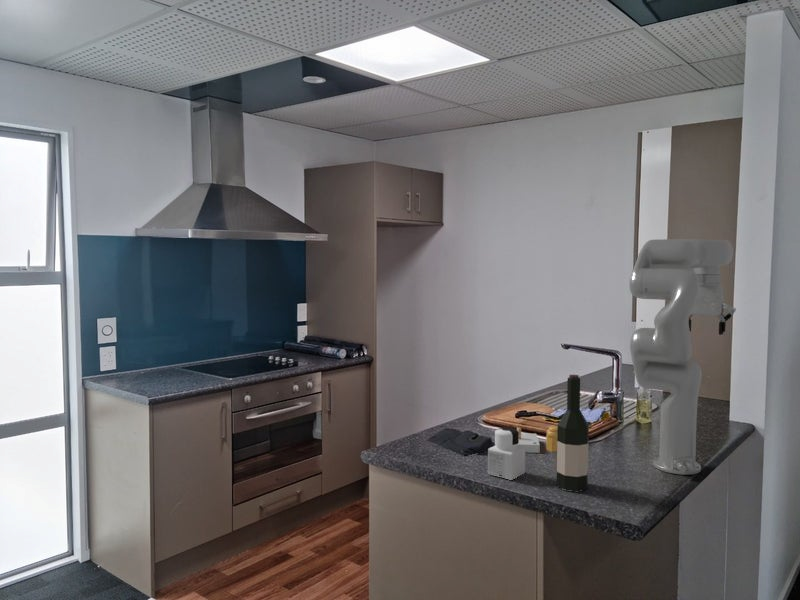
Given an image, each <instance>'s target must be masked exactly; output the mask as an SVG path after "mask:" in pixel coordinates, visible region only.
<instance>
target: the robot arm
mask: <svg viewBox="0 0 800 600" xmlns="http://www.w3.org/2000/svg"><path fill="white" fill-rule="evenodd" d="M733 257H734V247H733V245H732V243H731V242H730V241H729V240H727V239H723V240H722V239H705V238H704V239H703V238H677V239H676V238H674V239H669V238H667V239H649V240H648V241H646V242H645V243H644V244H643V246H642V248H641V249H640V251H639V253H638V255H637V259H636V260H635V264H634V267H633V269H632V272H631V274H630V277H629V291H630V293H631V294H632V296H634V297H635V298H636V299H642V300H659V301H660V300H663V301H669V302H668V303H667V304H666V305H665V306H663V307H662V308H661V309H660V310H659V311H658V312H657V314H656V315H655V316H654V318H653V325H654V327H639V328H637V329H636V330H635V331H634V332H633V333H632V335H631V338H630V341H629V342H630V343H629V344H630V346H629V349H630V356H631V361H632V365H633V370H634V375H635V379H636V382H637V384H638V385H639V386H640V387H641V388H644V389H648V390H656V391H665V392H669V393H670V395H669V396H667V397H666V398H665V399H664V400H663V402H662V403H661V405H660V413H659V414H660V419H659V451H658V452H659V453H658V454H659V455H658V457H656V458H654V459H653V466H654V467H655V468H656V469H658V470H659V471H662V472H665V473H669V474H675V475H686V476H688V475H689V476H690V475H696V474H698V473H700V472H701V471H702V465H701V464H700V463H698V462H697V461H696V450H697V449H696V448H697V446H696V444H697V416H698V401H699V392H700V388H701V383H702V379H703V378H702V377H703V375H702V374H703V372H702V368H701V366H700V365H699V364H698V363H697V362H695V361H693V360H690V359H691V357H692V353H693V346H692V338H691V337H692V336H691V332H692V319H691V318H692V317H693V316H705V317H709V316H710V317H717V318H718V319H719V323H718V335H724V333H726V325H727V323H726V322H727V321H728V320H729V319H731V318H732V317H733V315H734V314H735V312H736V310H737V309H736V308H735V307H734V306H732V305H730V304H728V303H726V302H724V291H723V285H722V284H720V280H721V279H720V277H721V276H720V275H721V266H722V267H723V266H728V265H729V264H730V263H731V261H732V260H733ZM690 269H693V271H692V270H690ZM724 309H726V310H728V313H727V314H726V315H724Z"/></svg>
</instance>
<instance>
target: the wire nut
mask: <svg viewBox="0 0 800 600" xmlns="http://www.w3.org/2000/svg"><path fill="white" fill-rule="evenodd" d="M557 431H558V425H550V426H549V427H548V429H546V435H545V437H546V439H545V443H546V445H545V448H546V450H547V451H548V452H551V453H557Z"/></svg>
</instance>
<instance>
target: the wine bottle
mask: <svg viewBox="0 0 800 600" xmlns="http://www.w3.org/2000/svg"><path fill="white" fill-rule="evenodd" d="M566 382H567V384H566V385H567V387H566V390H567V391H566V393H567V394H566V410H565V412H564V413H563V416H561V418H560V420H558V421H559V422H558V424H557V426H558V431H557V452H556V453H557V454H556V455H557V456H556V487H557V486H559V487H561V488H563V489H566V490H572V491H580V490H586V489H587V490H588V487H589V486H588V484H589V483H588V482H589V479H588V478H589V476H588V475H589V436H590V435H589V431H590V430H589V428H590V427H589V423H588V421H587V419H586V417H585V416H584V415H583V412H582V411H581V378H580V375H579V374H569V377H567V381H566ZM587 486H588V487H587Z"/></svg>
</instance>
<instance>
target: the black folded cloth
mask: <svg viewBox="0 0 800 600" xmlns="http://www.w3.org/2000/svg"><path fill="white" fill-rule="evenodd" d="M427 441H430V442H433V443H435V444H437V445H439V446H441V447H443V448H446V449H449V450H451V451H453V452H452V453H454V452H456V453H455V454H457V453H458V454H457V455H459V454H461V455H460V456H462V455H472V454H476V453H484V454H486V453H485V452H487V453H488V449H489V448H491V447H493V446H495V441H494V442H493V440H492V437H487V436H485V435H479V434H478V433H477V432H473V431H471V430H464V431H461V430H458V429H455V428H447V427H446V428H443V429H442V430H440V431H438V432H436V433H435V434H434V435H431V436H430V437H429V438H427V439H426V442H427ZM439 446H438V447H439ZM441 447H440V448H441ZM443 448H442V449H443ZM446 449H445V450H446ZM449 450H448V451H449ZM451 451H450V452H451Z"/></svg>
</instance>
